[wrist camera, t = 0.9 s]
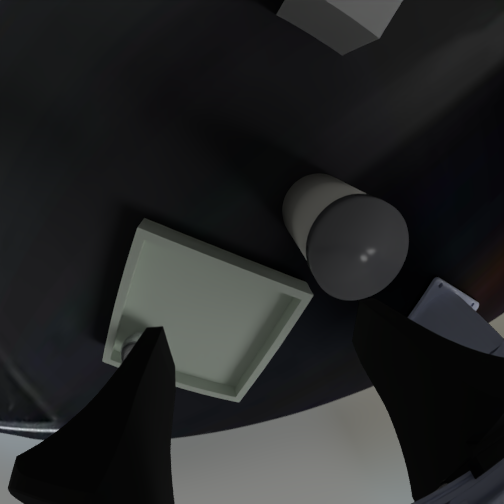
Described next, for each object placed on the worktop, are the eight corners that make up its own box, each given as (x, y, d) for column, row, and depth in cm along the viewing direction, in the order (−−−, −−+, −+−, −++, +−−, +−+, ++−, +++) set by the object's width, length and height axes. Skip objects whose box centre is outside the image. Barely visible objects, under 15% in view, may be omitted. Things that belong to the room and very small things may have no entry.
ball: (175, 331, 21) (170, 364, 18) (162, 361, 22) (157, 393, 19) (131, 315, 20) (119, 346, 17) (122, 347, 21) (112, 378, 18)
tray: (306, 282, 21) (313, 295, 20) (237, 387, 25) (239, 402, 24) (144, 217, 18) (137, 227, 17) (107, 346, 22) (102, 361, 20)
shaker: (364, 193, 19) (424, 228, 13) (329, 255, 21) (372, 311, 14) (302, 158, 18) (348, 178, 11) (267, 227, 19) (291, 280, 13)
